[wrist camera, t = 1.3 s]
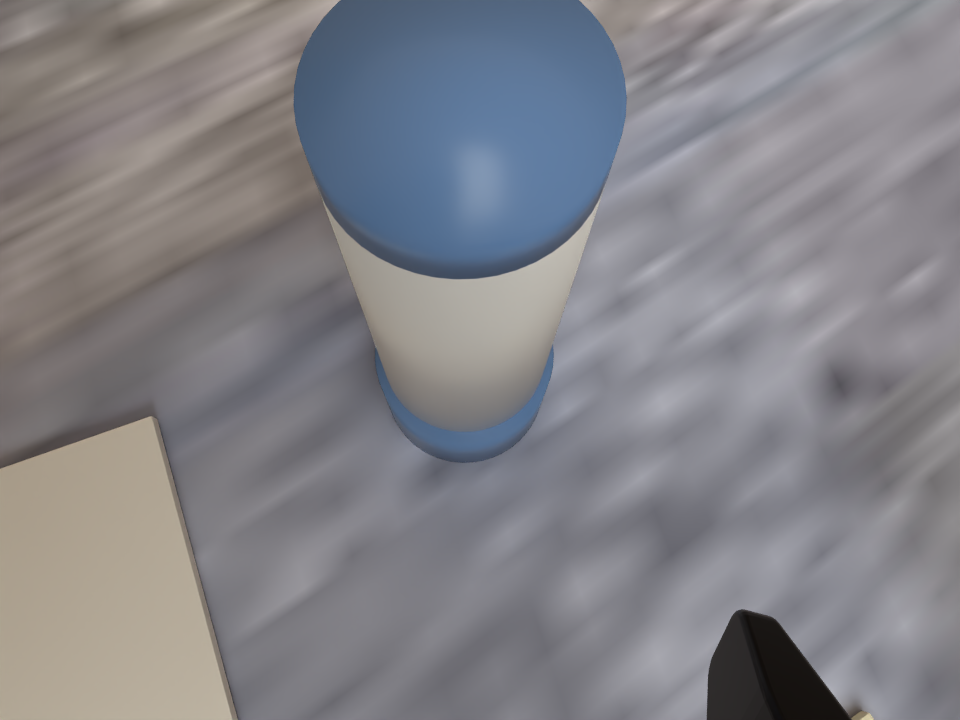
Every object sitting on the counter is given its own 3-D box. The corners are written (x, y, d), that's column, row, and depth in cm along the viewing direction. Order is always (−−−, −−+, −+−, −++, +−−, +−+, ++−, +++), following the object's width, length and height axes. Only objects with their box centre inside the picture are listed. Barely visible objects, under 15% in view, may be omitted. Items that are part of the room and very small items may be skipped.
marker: (565, 430, 21) (704, 187, 9) (417, 485, 21) (340, 312, 8) (508, 292, 22) (560, -94, 10) (366, 342, 22) (233, 0, 9)
